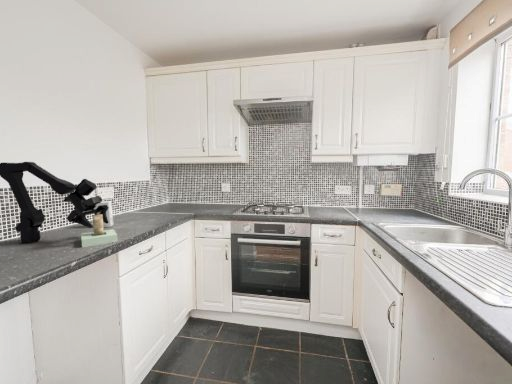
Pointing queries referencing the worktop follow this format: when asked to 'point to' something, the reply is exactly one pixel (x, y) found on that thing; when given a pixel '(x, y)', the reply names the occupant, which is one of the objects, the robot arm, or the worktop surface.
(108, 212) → the skincare box
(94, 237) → the hole block
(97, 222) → the beech peg
